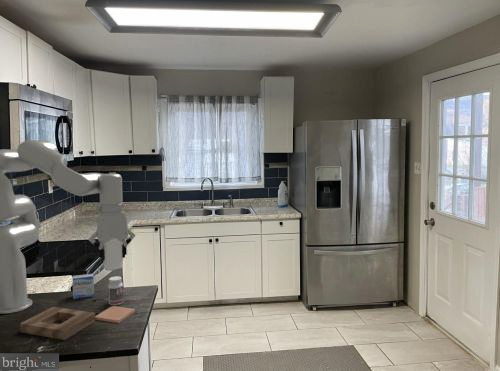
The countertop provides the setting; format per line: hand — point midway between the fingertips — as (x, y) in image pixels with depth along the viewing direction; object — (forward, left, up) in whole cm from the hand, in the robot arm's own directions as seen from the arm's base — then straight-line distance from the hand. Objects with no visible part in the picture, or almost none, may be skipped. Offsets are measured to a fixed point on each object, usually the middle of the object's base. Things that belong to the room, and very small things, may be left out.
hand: (113, 257), depth 136 cm
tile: (0, 0, -21) cm, 21 cm away
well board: (-13, -13, -21) cm, 28 cm away
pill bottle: (-7, +10, -22) cm, 25 cm away
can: (0, 0, -4) cm, 4 cm away
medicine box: (-24, +12, -22) cm, 34 cm away
